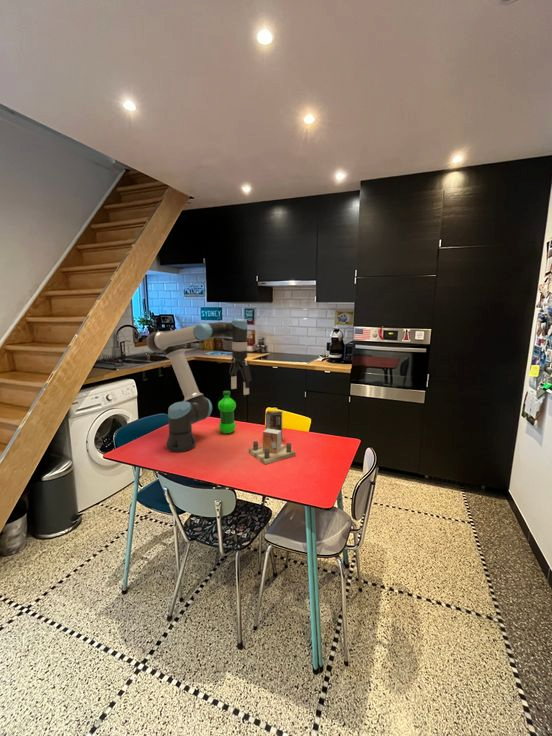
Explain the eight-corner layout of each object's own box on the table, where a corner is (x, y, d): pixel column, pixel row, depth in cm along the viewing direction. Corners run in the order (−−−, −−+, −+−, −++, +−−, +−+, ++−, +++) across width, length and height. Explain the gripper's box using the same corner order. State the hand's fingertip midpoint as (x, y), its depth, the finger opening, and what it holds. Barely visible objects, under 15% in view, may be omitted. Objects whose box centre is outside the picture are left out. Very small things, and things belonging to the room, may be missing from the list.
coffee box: (282, 438, 193) (282, 411, 190) (281, 442, 186) (281, 414, 183) (266, 437, 194) (266, 410, 191) (265, 441, 187) (265, 414, 184)
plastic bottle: (215, 432, 201) (214, 391, 197) (229, 427, 208) (229, 388, 204) (224, 436, 194) (224, 394, 190) (239, 432, 201) (239, 391, 197)
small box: (262, 451, 170) (262, 431, 168) (266, 447, 175) (267, 427, 173) (277, 453, 167) (277, 433, 165) (281, 449, 172) (281, 430, 170)
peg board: (249, 452, 173) (248, 441, 172) (277, 445, 183) (278, 434, 182) (265, 464, 160) (265, 452, 159) (295, 455, 170) (295, 444, 169)
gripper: (259, 352, 160) (258, 395, 163) (235, 347, 180) (235, 385, 184) (245, 353, 155) (245, 398, 159) (222, 347, 176) (222, 387, 180)
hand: (239, 391), depth 172 cm, fingers open, 13 cm apart
